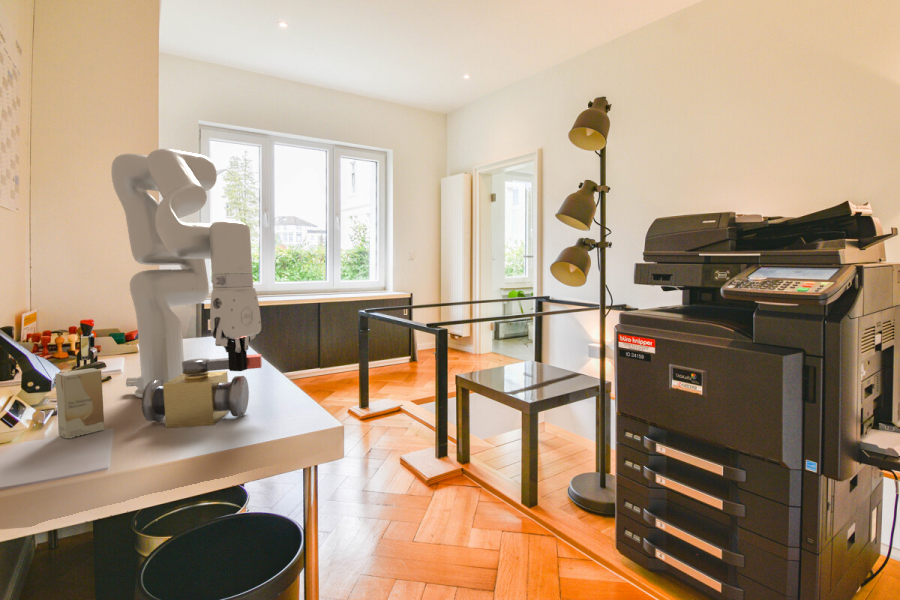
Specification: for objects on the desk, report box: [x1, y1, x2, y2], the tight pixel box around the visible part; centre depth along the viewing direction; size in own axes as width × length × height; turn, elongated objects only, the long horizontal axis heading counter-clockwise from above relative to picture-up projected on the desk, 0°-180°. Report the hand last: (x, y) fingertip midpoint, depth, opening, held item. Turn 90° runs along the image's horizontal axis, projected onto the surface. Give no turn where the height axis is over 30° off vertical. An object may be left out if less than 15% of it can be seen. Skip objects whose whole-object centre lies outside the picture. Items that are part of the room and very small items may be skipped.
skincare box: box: [54, 367, 105, 439], centre depth 87 cm, size 6×4×12 cm
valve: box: [141, 370, 250, 429], centre depth 94 cm, size 18×9×10 cm, turn 98°
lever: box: [182, 353, 263, 374], centre depth 95 cm, size 15×5×2 cm, turn 109°
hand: (238, 370), depth 93 cm, fingers closed
